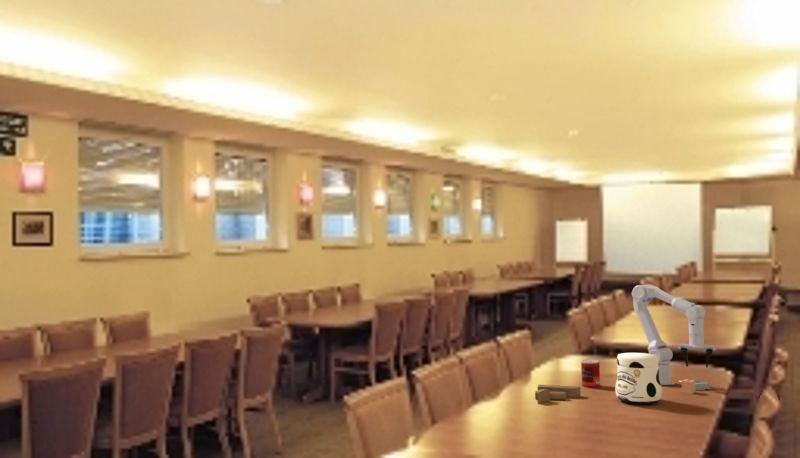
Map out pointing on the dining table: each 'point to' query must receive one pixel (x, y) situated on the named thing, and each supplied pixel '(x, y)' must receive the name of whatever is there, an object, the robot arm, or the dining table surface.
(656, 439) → the dining table surface
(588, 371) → the canned food
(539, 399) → the wooden block set
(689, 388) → the top brick
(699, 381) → the base brick
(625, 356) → the milk container
